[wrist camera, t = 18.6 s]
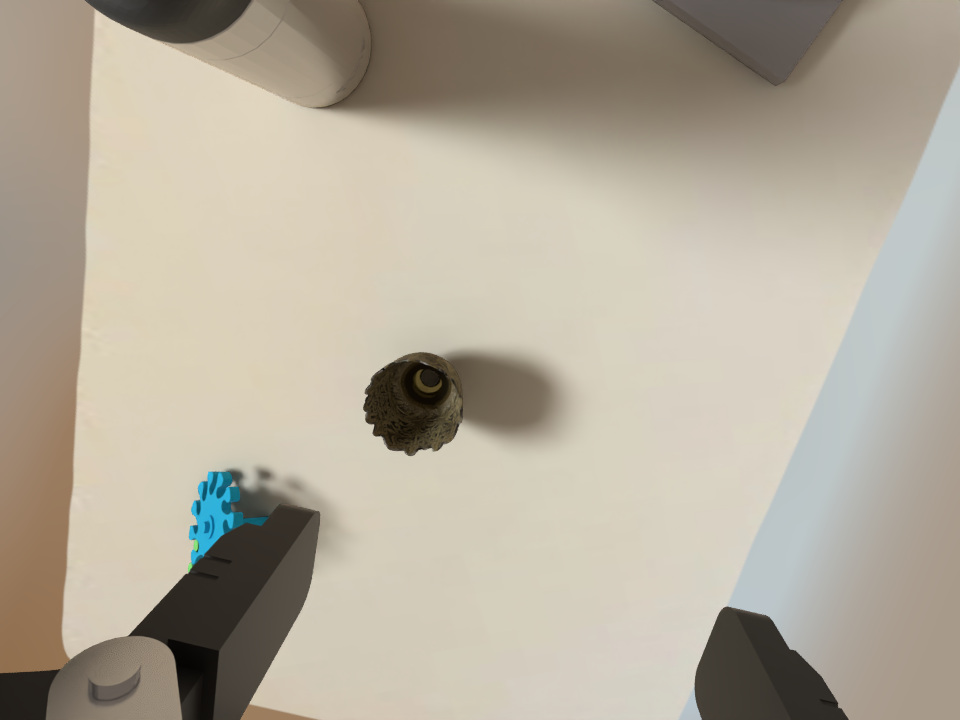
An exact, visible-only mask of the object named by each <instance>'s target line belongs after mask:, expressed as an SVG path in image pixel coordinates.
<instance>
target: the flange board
mask: <svg viewBox="0 0 960 720" xmlns="http://www.w3.org/2000/svg"><path fill="white" fill-rule="evenodd" d="M653 1H654V2H656V3H657V4H659V5H660V6H662V7H663V8H664V9H666V10H667V11H669V12H670V13H672V14H673V15H674V16H676V17H677V18H679V19H680V20H682V21H683V22H684V23H686V24H687V25H689V26H690V27H692V28H693V29H695V30H696V31H697V32H699V33H700V34H702V35H703V36H705V37H706V38H707V39H709V40H710V41H712V42H713V43H715V44H716V45H717V46H719V47H720V48H722V49H723V50H725V51H726V52H728V53H729V54H730V55H732V56H733V57H735V58H736V59H738V60H739V61H740V62H742V63H743V64H745V65H746V66H748V67H749V68H751V69H752V70H753V71H755V72H756V73H758V74H759V75H761V76H762V77H763V78H765V79H766V80H768V81H769V82H771V83H772V84H773V85H775V86H776V85H778V84H780V83H782V82H784V81H785V80H786V79H787V77H788V76H789V74H790V73H791V72H792V70H793V69H794V67H795V66H796V65H797V63H798V62H799V60H800V59H801V58H802V56H803V55H804V53H805V52H806V51H807V49H808V48H809V46H810V45H811V44H812V42H813V41H814V39H815V38H816V37H817V35H818V34H819V32H820V31H821V30H822V28H823V27H824V25H825V24H826V23H827V21H828V20H829V18H830V17H831V16H832V14H833V13H834V11H835V10H836V8H837V7H838V6H839V4H840V3H841V1H842V0H653Z"/></svg>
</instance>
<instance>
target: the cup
mask: <svg viewBox="0 0 960 720" xmlns="http://www.w3.org/2000/svg"><path fill="white" fill-rule="evenodd" d="M426 369H430V370H433V371H435V372H436V373H437V374H438V375H439V382H438V383H437V384H436V385H435V386H432V387H429V386H426V385H425V384H423V382H422V380H421V374H422V372H423V371H424V370H426ZM365 394H366V395H368V396H367V397H366V399H365V404H364V407H363V410H364V411H365V412H366V414H365V420H366V422H367V423H368V424H374V430H373V435H374V436H381V437H382V438H383V440H384V444H385V445H386V447H387V448H388V449H389V450H392V451H404V452H405V454H406V455H408V456H413V455H415V454H416V452H418V450H421V449H423V450H427V449H429V448H432V449H433V450H432V451H433V452H434V451H438V450H439V449H440V448H441V447H442V446H443V444H447V443H449V442H450V441H452V440H453V438H454V437H455V435H456V433H457V430H458V427H459V424H460V423H462V411H463V392H462V385H461V382H460V379H459V376H458V374H457V372H456V371H455V369H454V368H453V367H452V366H451V365H450V364H449V363H448V362H447V361H446V360H445V359H443V358H441V357H439V356H437V355H434V354H431V353H424V352H419V353H412V354H408V355H405V356H403V357H401V358H399V359H397V360H395V361H394V362H392V363H390V364H388V365H387V366H385V367H384V368H382V369H381V370H380V371H378V372H377V373H376V374H374V375H373V377H372V378H371V383H370V385H369V386H368V387H367V388H366V390H365Z"/></svg>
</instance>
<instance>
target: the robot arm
mask: <svg viewBox="0 0 960 720" xmlns="http://www.w3.org/2000/svg"><path fill="white" fill-rule="evenodd" d="M85 1H86V2H87V3H89V4H90V5H91V6H92V7H94V8H95V9H96V10H98V11H99V12H101V13H102V14H104V15H105V16H107V17H108V18H110V19H112V20H114V21H116V22H118V23H120V24H121V25H123V26H125V27H127V28H130V29H132V30H134V31H136V32H138V33H141V34H143V35H145V36H148V37H150V38H152V39H154V40H156V41H159V42H161V43H163V44H165V45H167V46H170V47H172V48H174V49H176V50H178V51H181V52H183V53H185V54H187V55H190V56H192V57H195V58H197V59H199V60H201V61H203V62H205V63H208V64H210V65H212V66H214V67H216V68H219V69H221V70H223V71H225V72H227V73H229V74H232V75H234V76H236V77H238V78H240V79H243V80H245V81H247V82H249V83H251V84H253V85H256V86H258V87H260V88H262V89H264V90H266V91H268V92H271V93H273V94H275V95H277V96H279V97H282V98H284V99H286V100H288V101H290V102H293V103H296V104H298V105H301V106H306V107H313V108H316V107H326V106H329V105H332V104H335V103H338V102H339V101H341V100H342V99H344V98H346V97H347V96H348V95H349V94H350V93H351V92H352V91H353V90H354V89H355V88H356V87H357V86H358V84H359V83H360V81H361V80H362V78H363V77H364V74H365V72H366V69H367V66H368V64H369V59H370V52H371V33H370V29H369V24H368V20H367V17H366V15H365V12H364V10H363V8H362V6H361V4H360V3H359V1H358V0H85ZM319 525H320V513H319V511H315V510H310V509H306V508H301V507H297V506H293V505H288V504H284V503H281V504H280V505H279V506H278V507H277V508H276V509H275V510H274V511H273V513H272V514H271V515H270V516H269V517H268V519H267V520H266V521H265V522H264V523H263V525H262V526H259V525H254V524H250V523H245V524H243V525H241V526H239V527H237V528H235V529H233V530H231V531H230V532H228V533H226V534H224V535H222V536H221V537H220V538H219V539H218V540H217V541H216V542H215V543H214V544H213V545H212V546H211V547H210V549H209V550H208V551H207V552H206V553H205V554H204V557H203V558H200V559H199V560H198V561H197V563H196V564H195V565H194V566H193V567H192V568H191V569H190V571H189V573H188V574H185V575H184V576H183V578H182V579H181V580H180V581H179V582H178V583H177V584H176V585H175V586H174V587H173V588H172V589H171V590H170V592H169V593H168V594H167V595H166V596H165V597H164V598H163V599H162V600H161V601H160V602H159V603H158V604H157V606H156V607H155V608H154V609H153V610H152V611H151V612H150V613H149V614H148V615H147V616H146V617H145V618H144V620H143V621H142V622H141V623H140V624H139V625H138V626H137V627H136V628H135V629H134V630H133V631H132V632H131V633H130V635H129V636H127V637H120V638H114V639H111V640H107V641H104V642H101V643H99V644H96V645H94V646H92V647H90V648H88V649H86V650H84V651H83V652H81V653H80V654H78V655H76V656H75V657H74V658H72V659H71V660H70V661H69V662H68V663H66V665H65V666H64V667H63V668H62V669H58V670H51V671H39V672H38V671H37V672H18V673H0V720H240V719H241V717H242V715H243V713H244V712H245V710H246V708H247V706H248V704H249V703H250V701H251V699H252V697H253V695H254V694H255V692H256V690H257V688H258V686H259V685H260V683H261V681H262V679H263V678H264V676H265V674H266V672H267V670H268V669H269V667H270V665H271V663H272V661H273V660H274V658H275V656H276V654H277V652H278V651H279V649H280V647H281V645H282V644H283V642H284V640H285V638H286V636H287V635H288V633H289V631H290V629H291V627H292V626H293V624H294V622H295V620H296V618H297V617H298V615H299V613H300V611H301V609H302V607H303V605H304V602H305V600H306V597H307V594H308V591H309V588H310V584H311V580H312V574H313V567H314V560H315V553H316V546H317V539H318V532H319ZM695 697H696V703H697V706H698V709H699V712H700V715H701V718H702V720H848V718H847V716H846V715H845V713H844V712H843V710H842V709H840V708H838V702H837V701H836V699H835V697H834V696H833V694H832V693H831V691H830V690H829V688H828V686H827V685H826V683H825V682H824V680H823V678H822V677H821V676H820V675H819V674H818V673H817V672H816V671H815V670H814V669H813V668H812V667H811V666H810V665H809V664H808V663H807V662H806V661H805V660H804V659H803V658H802V657H801V656H800V655H799V654H798V653H797V652H796V651H794V650H790V649H789V647H788V646H787V644H786V643H785V641H784V639H783V637H782V636H781V634H780V633H779V631H778V629H777V627H776V626H775V624H774V622H773V621H772V620H771V619H770V618H769V617H768V616H766V615H762V614H757V613H753V612H749V611H745V610H740V609H736V608H731V607H725V608H723V609H722V610H721V611H720V613H719V615H718V617H717V620H716V622H715V625H714V627H713V630H712V632H711V635H710V637H709V640H708V642H707V645H706V647H705V650H704V652H703V655H702V657H701V660H700V662H699V665H698V667H697V671H696V676H695Z"/></svg>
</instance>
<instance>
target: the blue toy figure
mask: <svg viewBox="0 0 960 720" xmlns="http://www.w3.org/2000/svg"><path fill="white" fill-rule="evenodd" d="M232 480H233V479H232V476H231V474H230V472H208V481H203V482H201V483H200V484H199V486H198V492H199V495H200V500H198V501H194V503H193V506H192V509H191V512H192V514H193V515H194V516H195V517H196V520H197V524H198V525H193V526H190V532H189V539H190V540H195V542H194V550H192V552H191V560H192V563H190V564H189V566H188V572H189V571H190V569H191V568H192V567H193V566H194V565H195V564H196V563H197V561H198V560H199V559H200V558H203V557H204V554H205V553H206V552H207V551H208V550H209V549H210V547H211V546H212V545H213V544H214V543H215V542H216V541H217V540H218V539H219V538H220V537H221V536H222V535H224V534H226V533H228V532H230V531H231V530H233V529H235V528H237V527H239V526H241V525H243V524H245V523H250V524H254V525H259V526H262V525H263V523H264V522H265V521H266V520H267V519H268V517H256V518H243V513H242V512H233V511H232V510H231V502H238V501H239V500H240V491H239V487H228V486H230V485H231V484H232ZM226 488H227V489H226Z"/></svg>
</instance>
